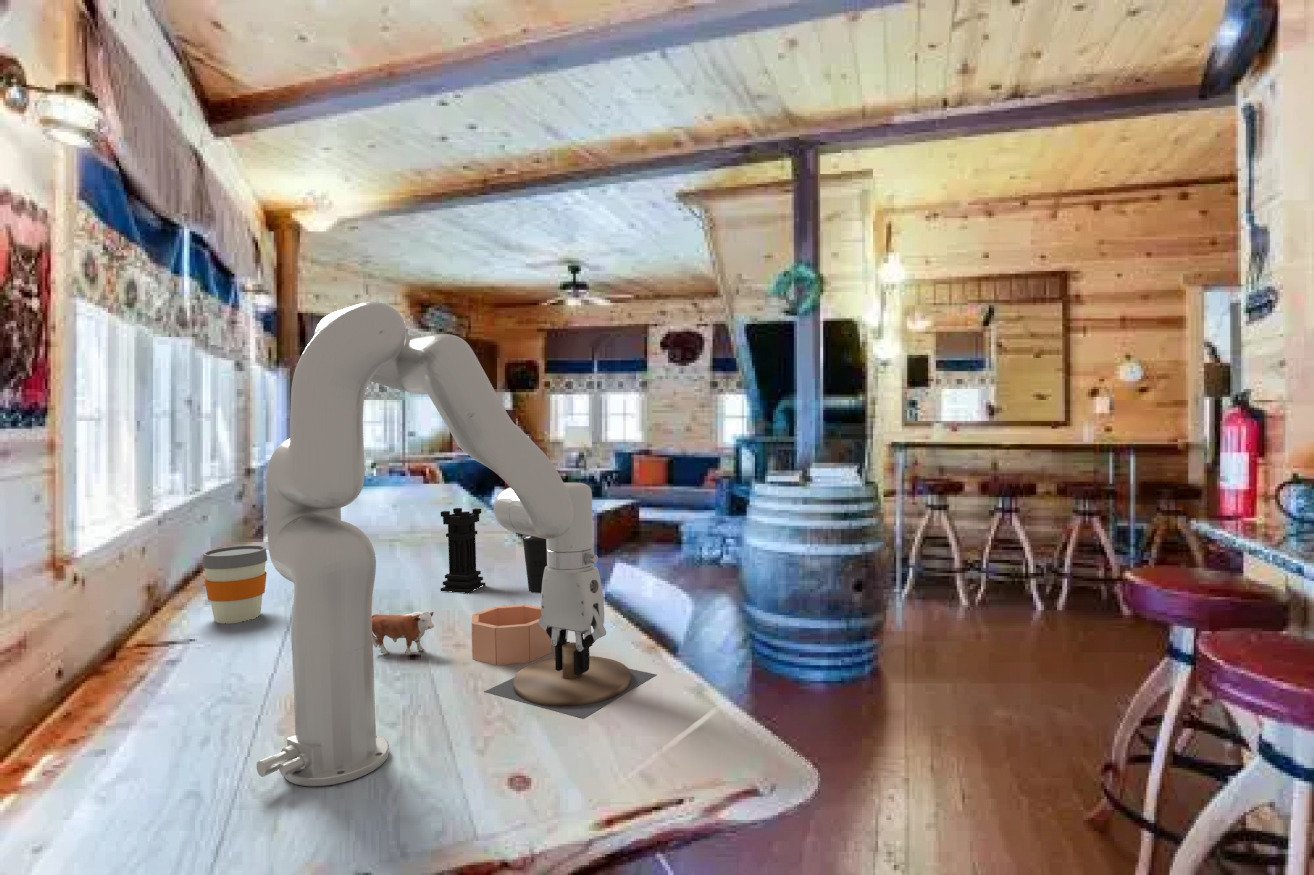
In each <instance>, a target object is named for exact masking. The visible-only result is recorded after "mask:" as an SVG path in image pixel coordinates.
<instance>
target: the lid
mask: <svg viewBox="0 0 1314 875" xmlns="http://www.w3.org/2000/svg"><path fill="white" fill-rule="evenodd" d="M569 642H570V641H569ZM575 650H577V647H576V641H575V642H574V641H573V642H572V641H571V642H570V643H565V644H563V645H562V668H563V669H562V670H560V671H557V670H556V668H555V657H551V658H549V659H548V658H547V659H543V660H541V661H537V662H533V663H532V664H528V665H526V666H524V667H523V668H522V669H520V670H519V671H518V672H517V673H516V674H515V675H514V677H513V678H514V681H513V684H514V692H515V693H516V694H517V695H518V696H519V697H520V698H522V699H524V700H526V701H528V702H531V703H535V704H539V705H546V706H559V707H567V706H581V705H589V704H594V703H598V702H602V701H605V700H608V699H611V698H614V697H616V696H618V695H620V694H621V693H623V692H624V691H625V690H626V689H627V688H628V687H629V686H630V683H631V676H630V670H629V669H630V668H629V669H628V666H626V665H625V663H622V662H619V661H618V660H615V659H610V658H607V657H602V656H593V655H592V656H591V655H589V660H590V665H589V670H588V671H586V672H584V673H582V674H580V675H575V674H574V651H575Z"/></svg>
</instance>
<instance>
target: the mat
mask: <svg viewBox="0 0 1314 875" xmlns="http://www.w3.org/2000/svg"><path fill="white" fill-rule="evenodd" d="M628 669H629V670H630V676H631V683H630V686H629V687H628V688H627V689H626V690H625V691H624V692H623V693H621V694H620V695H618V696H616V697H614V698H611V699H608V700H605V701H602V702H598V703H594V704H589V705H581V706H567V707H559V706H546V705H539V704H535V703H531V702H528V701H526V700H524V699H522V698H520V697H519V696H518V695H517V694H516V693H515V692H514V684H513V681H514V677H513V678H511V679H508V680H506V681H504V682H502V683H499V684H497V685H494V686H493V687H491V688H489V689H486V690H484V691H483V692H484V693H486V694H490V695H494V696H498V697H502V698H505V699H509V700H513V701H517V702H519V703H524V704H527V705H531V706H534V707H539V708H542V709H545V710H549V711H553V712H556V713H559V714H560V713H561V714H563V715H568V716H571V717H575V718H578V719H582V720H584V719H586V718H587V717H589V716H591V715H592V714H594V713H595V712H597V711H599V710H601V709H602V708H604V707H606V706H607V705H609V704H611V703H612V702H614V701H616V700H618V699H619V698H621V697H622V696H625V695H626V694H627V693H629V692H631V691H632V690H634V689H636V688H638V687H639V686H641V685H642V684H645V683H646V682H647V681H649V680H651V679H652V678H654V677H656V676H657V675H658V674H656V673H653V672H647V671H642V670H637V669H632V668H628Z"/></svg>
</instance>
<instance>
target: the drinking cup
mask: <svg viewBox="0 0 1314 875" xmlns="http://www.w3.org/2000/svg"><path fill="white" fill-rule="evenodd" d="M521 540H522V544H523V552H524V560H525V561H524V562H525V568H526V577H527V586H528V592H530V591H531V592H530V593H534V592H539V593H541V592H542V581H543V574H544V569H545V567H546V566H547V545H546V539H544V538H539V537H535V536H530V535H524V534H522V536H521Z"/></svg>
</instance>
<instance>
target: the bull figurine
mask: <svg viewBox="0 0 1314 875" xmlns="http://www.w3.org/2000/svg"><path fill="white" fill-rule="evenodd" d="M433 615H434V611H431V612H430V613H429V611H426V610H424V611H422V612H421V611H414V612H411V613H407V614H372V639H373V647H375V648H377V647H378V648H379V649H380V653H381V654H383V655H384V656H388V655H390V652H389V651H388V649H387V648H386V647H385V645H384V639H385V636H386V637H388V638H389V639H392V640H393V643H396V642H398V641H397V640H399V639H405V641H406V642H405V643H406V649H405V651H404V653H405V654H406V655H407V656H412V655H413V653H412V650H411V646H412V644H413V642H415V644H416V650H417V651H418V652H424V651H425V649H424V648H423V646H422V645H421V638H422V637H423V636H424V635H425V632H426V631H428V630H432V629H434V627H435V625H434V623H433V622H432V617H433Z"/></svg>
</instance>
